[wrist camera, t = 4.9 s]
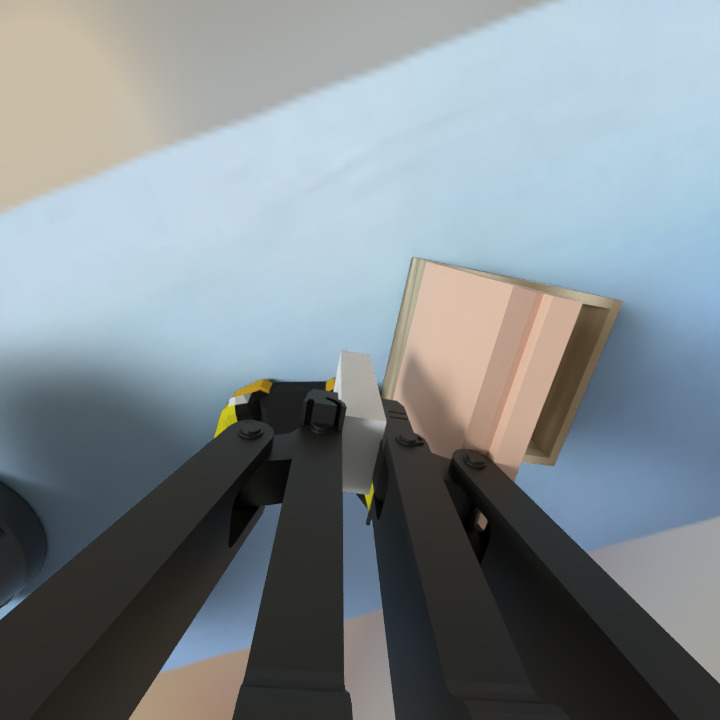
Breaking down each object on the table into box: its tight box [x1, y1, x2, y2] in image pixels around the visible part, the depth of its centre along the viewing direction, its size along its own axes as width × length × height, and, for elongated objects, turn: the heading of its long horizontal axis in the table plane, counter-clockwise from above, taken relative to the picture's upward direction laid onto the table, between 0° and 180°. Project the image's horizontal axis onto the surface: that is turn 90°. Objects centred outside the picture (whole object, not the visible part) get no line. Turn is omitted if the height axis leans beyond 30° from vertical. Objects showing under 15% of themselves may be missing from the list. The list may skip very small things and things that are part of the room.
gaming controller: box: [214, 378, 374, 510], centre depth 29 cm, size 15×6×10 cm
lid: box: [393, 262, 583, 530], centre depth 16 cm, size 12×12×1 cm
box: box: [380, 257, 623, 466], centre depth 27 cm, size 12×12×7 cm
